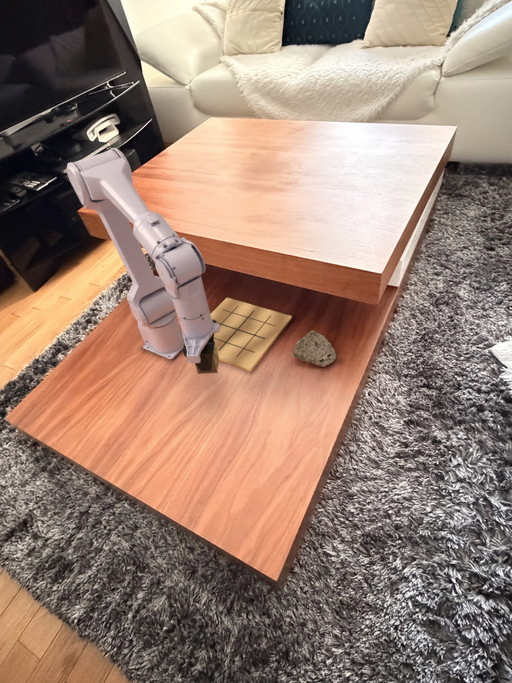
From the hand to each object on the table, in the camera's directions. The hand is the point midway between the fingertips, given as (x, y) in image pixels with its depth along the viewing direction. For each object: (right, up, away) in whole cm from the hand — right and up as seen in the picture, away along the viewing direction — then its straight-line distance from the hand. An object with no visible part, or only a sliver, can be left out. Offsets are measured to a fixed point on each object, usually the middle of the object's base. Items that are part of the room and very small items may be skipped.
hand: (207, 361), depth 78 cm
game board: (+5, +6, +18) cm, 20 cm away
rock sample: (+24, +1, +10) cm, 26 cm away
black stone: (0, -1, +1) cm, 1 cm away
